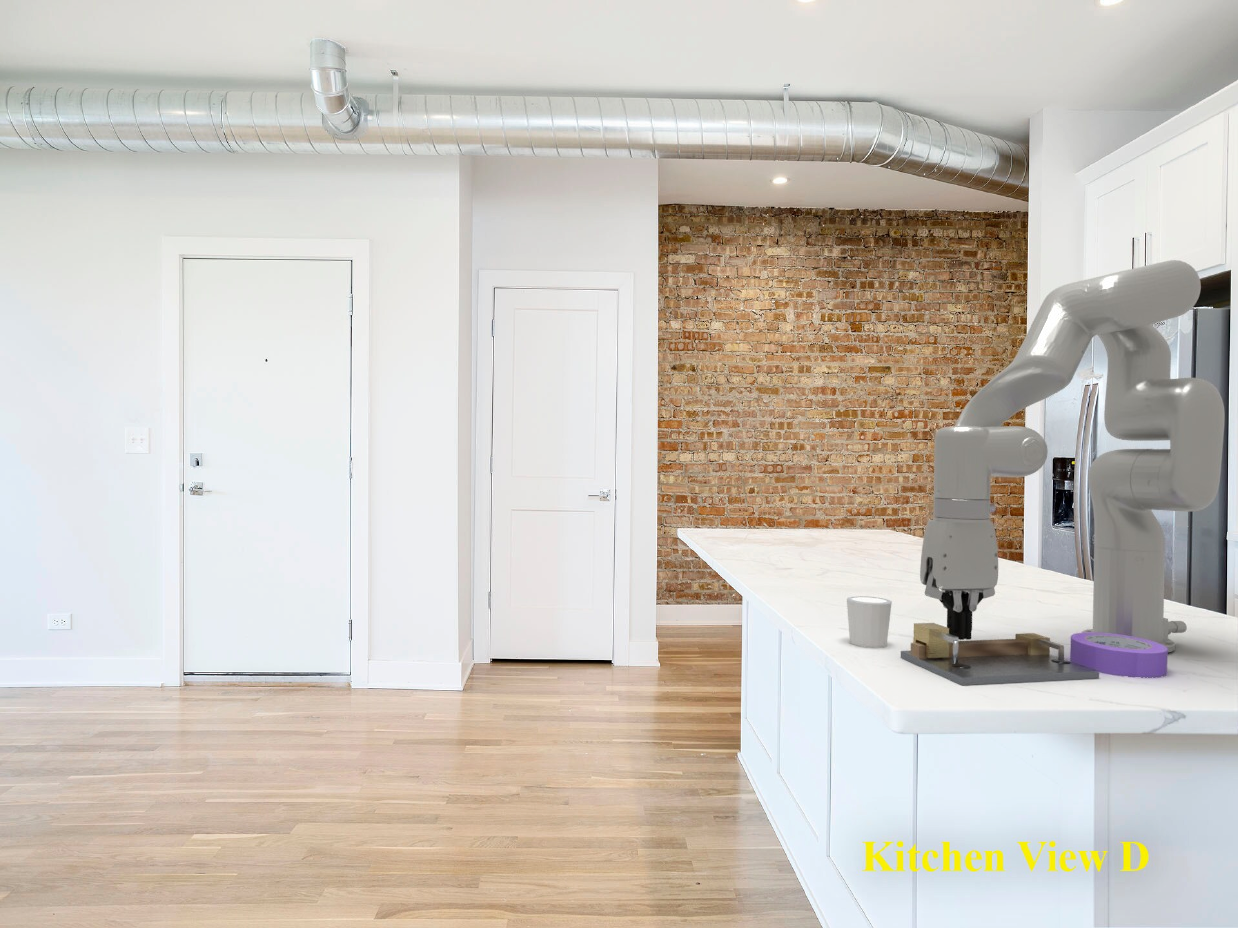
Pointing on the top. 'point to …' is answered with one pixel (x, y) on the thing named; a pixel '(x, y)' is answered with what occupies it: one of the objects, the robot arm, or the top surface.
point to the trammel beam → (998, 647)
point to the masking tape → (1119, 654)
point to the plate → (1004, 668)
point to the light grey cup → (868, 621)
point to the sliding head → (936, 640)
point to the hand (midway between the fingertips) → (959, 637)
